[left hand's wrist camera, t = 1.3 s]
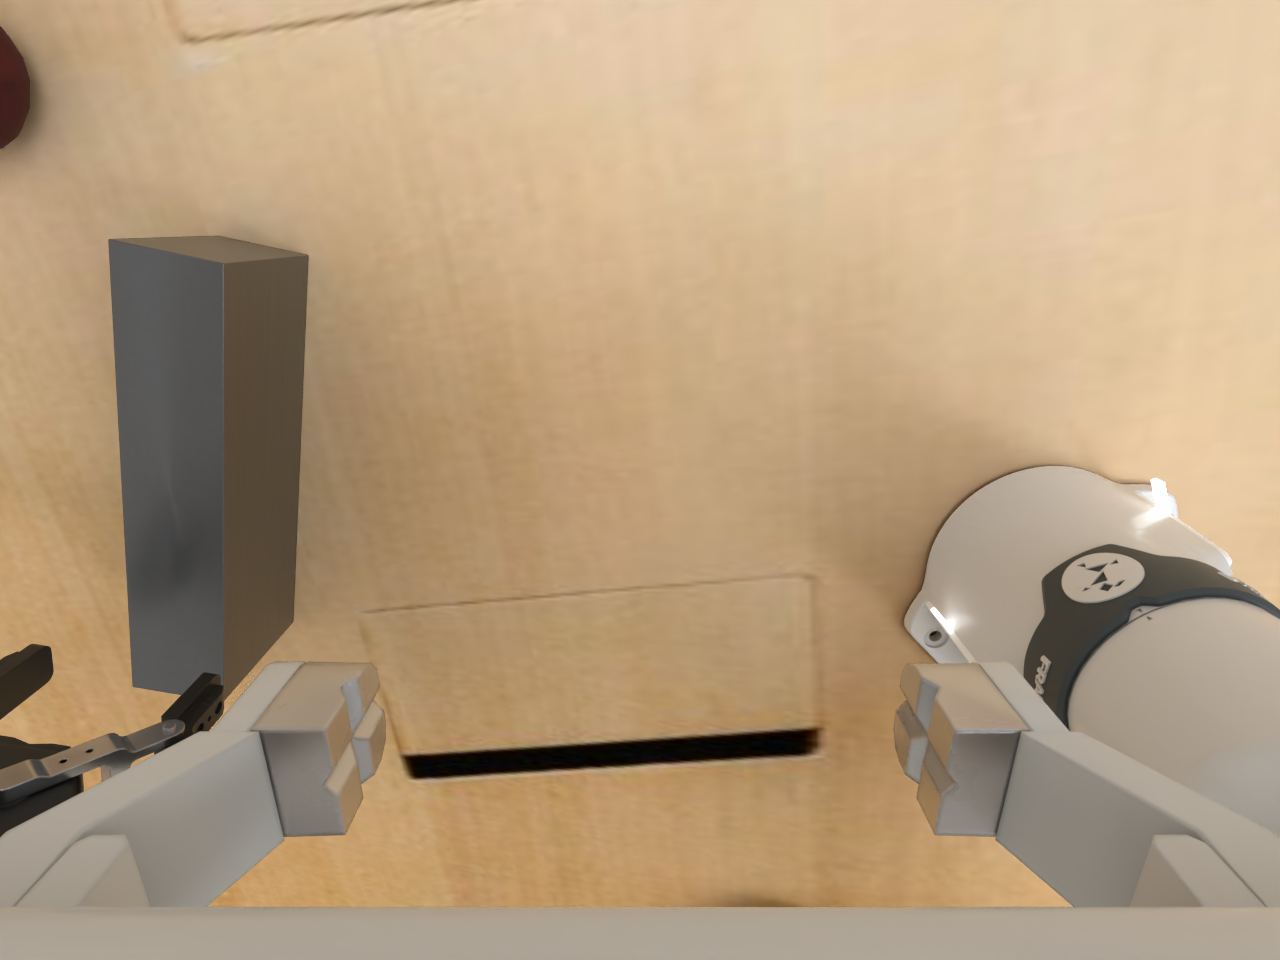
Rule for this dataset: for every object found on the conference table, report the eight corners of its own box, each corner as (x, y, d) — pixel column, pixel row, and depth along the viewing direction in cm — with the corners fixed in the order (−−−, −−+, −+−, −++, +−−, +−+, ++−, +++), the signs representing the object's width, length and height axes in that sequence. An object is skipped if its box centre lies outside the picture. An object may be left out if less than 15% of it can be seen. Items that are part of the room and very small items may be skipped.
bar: (217, 235, 40) (107, 238, 32) (308, 255, 41) (223, 263, 32) (218, 608, 49) (132, 687, 41) (293, 622, 49) (223, 702, 41)
